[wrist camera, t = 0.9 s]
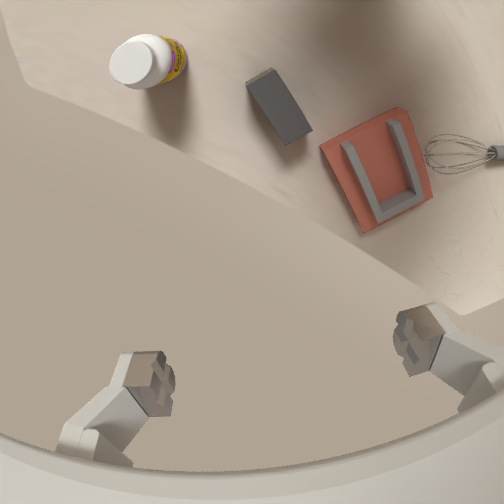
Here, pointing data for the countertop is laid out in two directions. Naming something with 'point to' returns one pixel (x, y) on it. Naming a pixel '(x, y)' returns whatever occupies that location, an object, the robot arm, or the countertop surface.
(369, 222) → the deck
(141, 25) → the countertop surface
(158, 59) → the supplement bottle
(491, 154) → the kitchen whisk
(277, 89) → the dark gray eraser
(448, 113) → the countertop surface
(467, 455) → the robot arm
